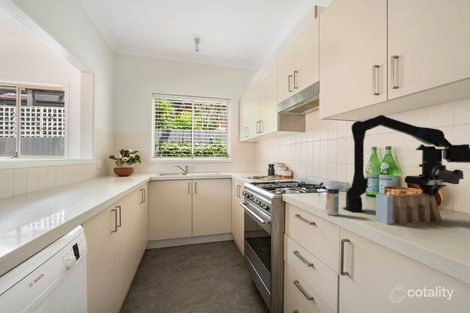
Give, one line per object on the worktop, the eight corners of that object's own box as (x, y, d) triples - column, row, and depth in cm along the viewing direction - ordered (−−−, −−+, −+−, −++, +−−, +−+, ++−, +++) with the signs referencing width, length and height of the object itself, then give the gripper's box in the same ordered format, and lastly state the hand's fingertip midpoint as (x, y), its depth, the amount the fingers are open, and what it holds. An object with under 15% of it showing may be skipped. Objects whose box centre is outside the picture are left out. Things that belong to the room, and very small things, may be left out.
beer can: (327, 212, 93) (328, 184, 93) (339, 214, 90) (340, 185, 90) (324, 214, 89) (324, 185, 89) (336, 216, 86) (337, 187, 86)
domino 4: (423, 217, 86) (416, 195, 85) (427, 215, 86) (420, 192, 85) (437, 221, 81) (429, 197, 80) (441, 219, 81) (434, 195, 80)
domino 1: (388, 219, 83) (388, 193, 83) (392, 219, 83) (393, 193, 83) (400, 223, 78) (400, 196, 78) (405, 223, 78) (405, 196, 78)
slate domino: (375, 220, 82) (376, 194, 82) (380, 220, 82) (381, 194, 82) (386, 224, 77) (387, 196, 77) (392, 224, 77) (392, 196, 77)
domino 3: (412, 218, 85) (411, 193, 85) (416, 218, 85) (416, 193, 85) (425, 222, 80) (424, 195, 80) (430, 221, 80) (429, 195, 80)
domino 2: (400, 219, 84) (400, 193, 84) (404, 218, 84) (405, 193, 84) (412, 223, 79) (413, 196, 79) (417, 222, 79) (418, 195, 79)
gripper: (434, 162, 74) (433, 207, 74) (477, 163, 77) (476, 206, 77) (403, 161, 85) (403, 200, 85) (442, 161, 88) (441, 199, 88)
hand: (430, 202), depth 83 cm, fingers closed
